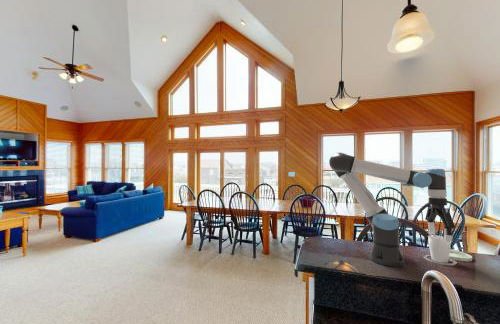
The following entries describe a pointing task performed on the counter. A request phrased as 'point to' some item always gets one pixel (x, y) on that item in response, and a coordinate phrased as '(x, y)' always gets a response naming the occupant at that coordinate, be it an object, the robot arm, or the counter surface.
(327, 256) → the counter surface
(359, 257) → the counter surface
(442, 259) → the cup
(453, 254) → the pale green flat disc
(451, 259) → the seat ring
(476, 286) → the counter surface
